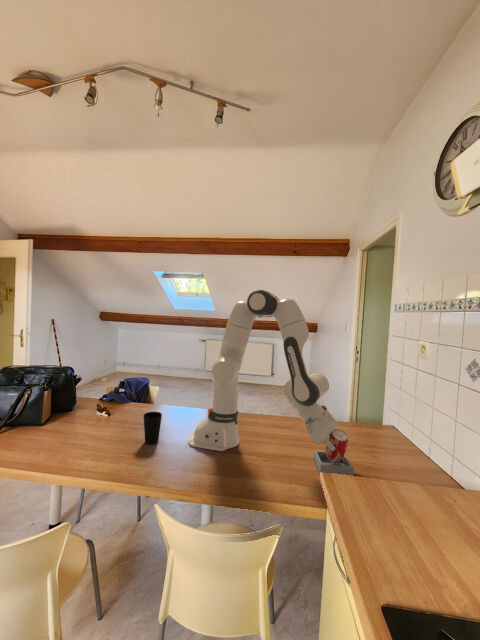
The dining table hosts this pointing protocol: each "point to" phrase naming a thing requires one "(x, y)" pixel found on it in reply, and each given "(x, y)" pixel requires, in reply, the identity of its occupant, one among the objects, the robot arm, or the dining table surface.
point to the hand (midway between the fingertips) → (337, 446)
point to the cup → (152, 427)
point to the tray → (332, 464)
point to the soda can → (337, 446)
